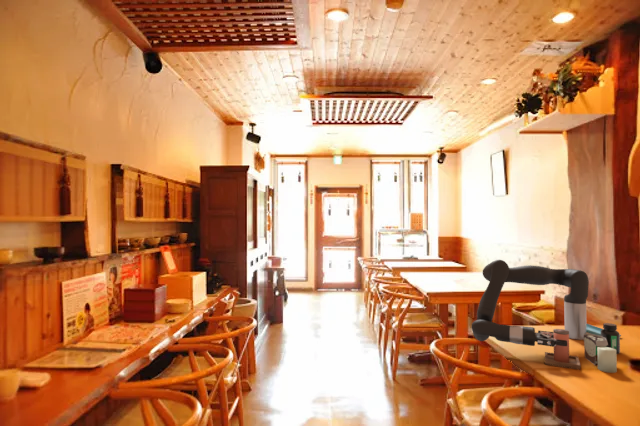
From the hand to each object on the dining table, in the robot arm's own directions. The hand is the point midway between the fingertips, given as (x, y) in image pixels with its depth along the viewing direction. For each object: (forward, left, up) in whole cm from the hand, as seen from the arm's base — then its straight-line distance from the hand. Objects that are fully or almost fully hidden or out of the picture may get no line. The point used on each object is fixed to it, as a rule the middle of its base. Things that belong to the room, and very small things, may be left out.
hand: (566, 340), depth 165 cm
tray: (0, -2, -9) cm, 9 cm away
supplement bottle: (-26, +17, -9) cm, 32 cm away
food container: (-8, +11, -9) cm, 16 cm away
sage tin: (+1, +13, -9) cm, 16 cm away
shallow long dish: (-62, +13, -10) cm, 64 cm away
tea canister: (0, -2, -8) cm, 8 cm away
